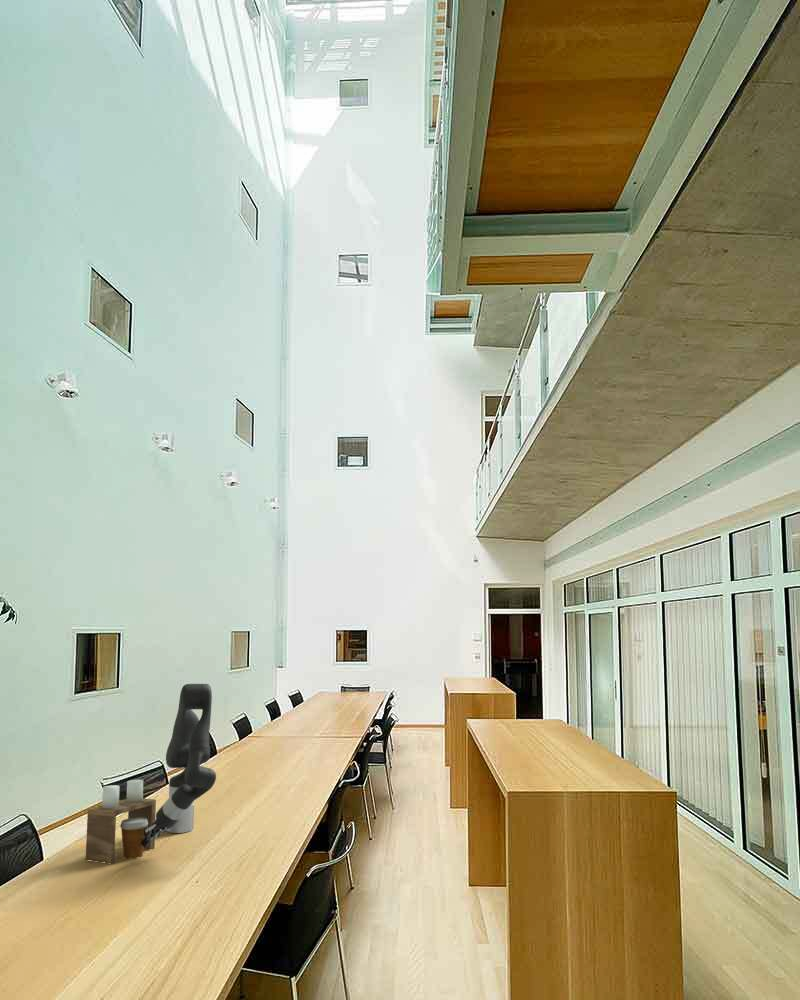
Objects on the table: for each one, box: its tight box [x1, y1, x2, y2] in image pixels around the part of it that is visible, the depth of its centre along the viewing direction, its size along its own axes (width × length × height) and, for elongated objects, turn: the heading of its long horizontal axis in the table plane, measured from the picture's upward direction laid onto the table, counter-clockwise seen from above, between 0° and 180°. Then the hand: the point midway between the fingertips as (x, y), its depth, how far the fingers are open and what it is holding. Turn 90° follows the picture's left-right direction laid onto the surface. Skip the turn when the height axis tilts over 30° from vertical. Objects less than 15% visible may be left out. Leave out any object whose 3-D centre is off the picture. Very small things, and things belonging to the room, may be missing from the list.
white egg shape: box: [126, 779, 144, 803], centre depth 303 cm, size 6×6×7 cm
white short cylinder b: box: [101, 784, 121, 809], centre depth 292 cm, size 6×6×7 cm
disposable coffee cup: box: [119, 818, 148, 859], centre depth 293 cm, size 10×10×12 cm
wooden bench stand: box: [85, 797, 157, 864], centre depth 296 cm, size 22×11×17 cm, turn 155°
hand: (143, 844), depth 291 cm, fingers closed
